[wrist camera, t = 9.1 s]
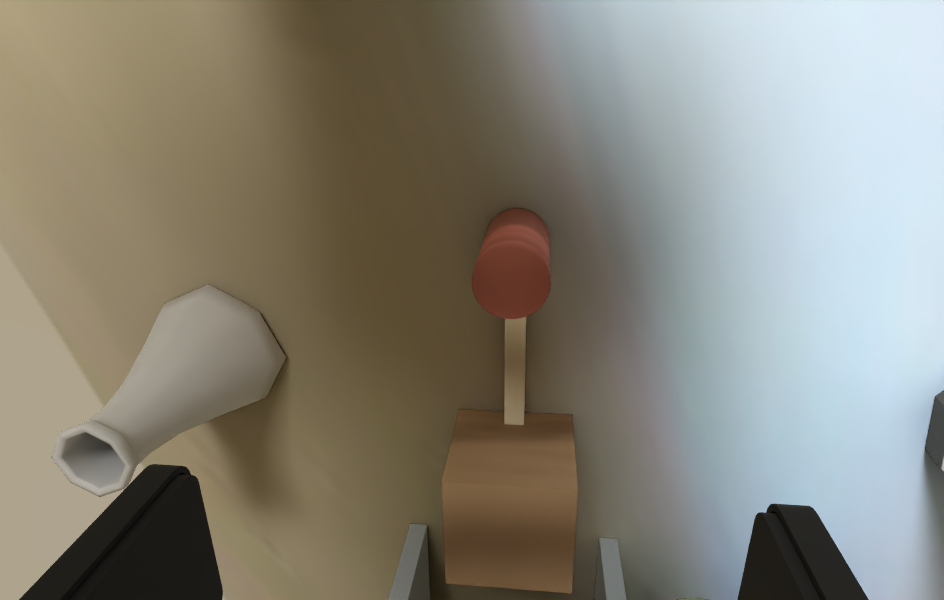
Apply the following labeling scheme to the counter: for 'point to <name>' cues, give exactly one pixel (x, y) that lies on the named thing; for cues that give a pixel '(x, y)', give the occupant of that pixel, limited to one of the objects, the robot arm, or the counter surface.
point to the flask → (174, 387)
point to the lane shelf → (413, 569)
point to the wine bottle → (937, 432)
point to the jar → (691, 599)
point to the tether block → (511, 441)
